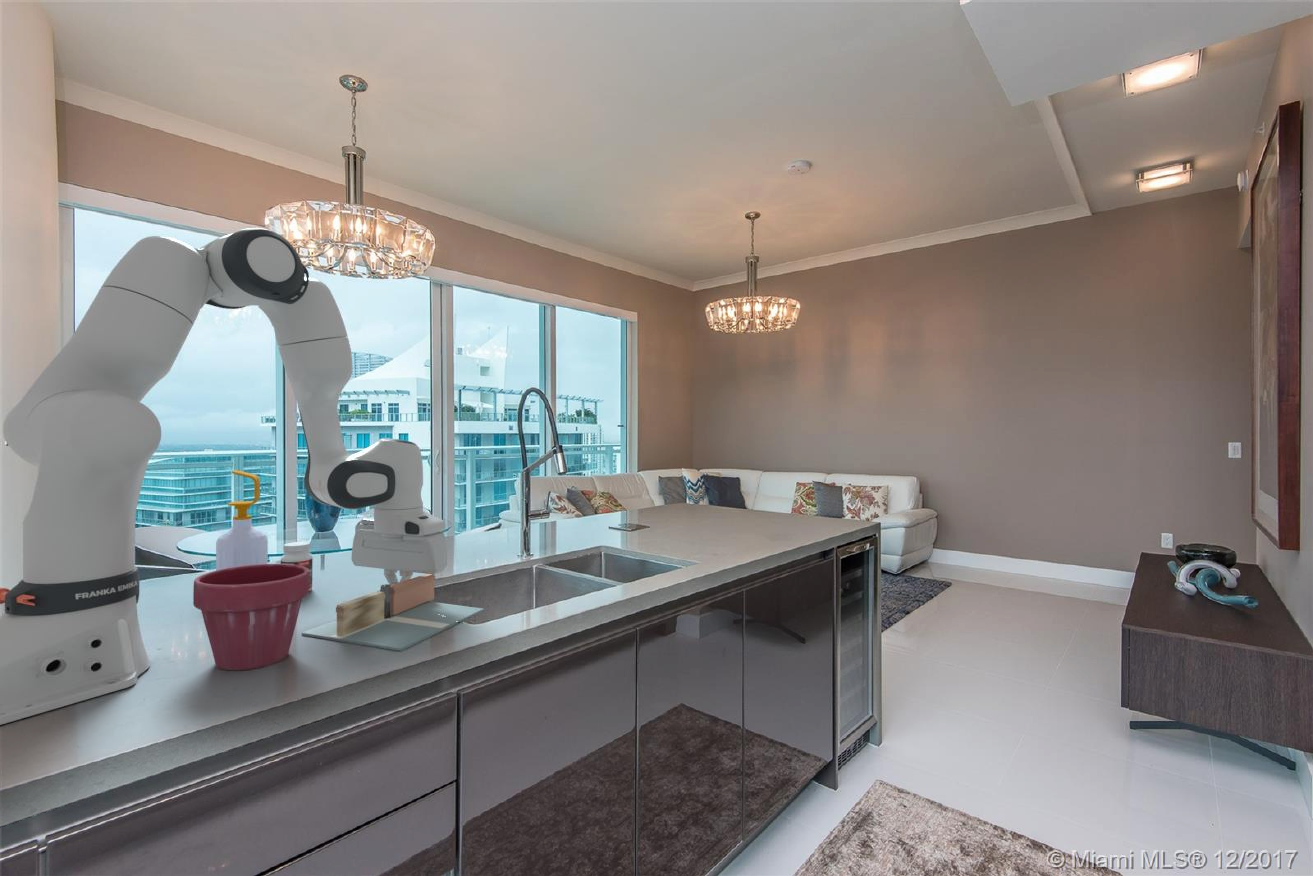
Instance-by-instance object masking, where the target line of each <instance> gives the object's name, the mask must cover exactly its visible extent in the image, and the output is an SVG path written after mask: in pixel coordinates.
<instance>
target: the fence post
mask: <svg viewBox="0 0 1313 876" xmlns="http://www.w3.org/2000/svg"><path fill="white" fill-rule="evenodd" d="M380 591H381V592H384V594H385V599H384V619H386V618H390V585H389V583H388V584H387V583H386V584H381V585H380Z"/></svg>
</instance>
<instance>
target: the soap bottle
mask: <svg viewBox="0 0 1313 876" xmlns="http://www.w3.org/2000/svg"><path fill="white" fill-rule="evenodd" d="M231 474H234V475H238V476H241V477H246V478H248V479H251V480H252V481H253V484H254V498H253V500H246V501H230V502H229V503H227V506H229V507H233V506H234V510H237V515H234V516H232V527H230V529H228V530H227V531H225V532H223V533H222V534H221V535H219V536H218V537H217V540H216V542H215V571H217V570H221V569H226V568H232V567H239V566H247V565H258V564H268V555H269V554H268V553H269V552H268V542H269V541H268V537H267V535H266V532H264V531H262V530H260V529H259V528H257V527H254V526H253V523H252V522H253V518H252V517H253V516H252V515H251V514H248V510H249V509H250V508H251V506H252V505H255V504H256V503H257V502H258V501H260V497H261V495H260V494H261V491H260V488H261V481H260V477H259V476H258V475H256V474H254V473H250V472H246V471H242V470H239V469H238V470H237V469H234V470H232V471H231Z"/></svg>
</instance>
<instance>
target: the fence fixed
mask: <svg viewBox="0 0 1313 876" xmlns="http://www.w3.org/2000/svg"><path fill="white" fill-rule="evenodd" d="M384 599H385V594H384V592H381V590H377V591H375V592H371V593H369V594H365V595H363V596H359V597H357V598H353V599H351V600H347V601H345V602H342V603H339V604H337V605H336V606H335V613H336V620H337V635H340V636H345V635H347V634H349V633H352V632H354V631H357V630H359V629H362V628H364V627H367V626H369V625H372V624H374V623H377V622H379V621H382V620H384Z"/></svg>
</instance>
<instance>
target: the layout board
mask: <svg viewBox="0 0 1313 876" xmlns="http://www.w3.org/2000/svg"><path fill="white" fill-rule="evenodd" d="M484 610H485V609H484V608H482V607H472V606H466V605H459V604H452V603H451V604H450V603H445V602H443V603H442V602H435V601H427V602H425V603H422V604H420V605H418V606H415V607H413V608H410V609H408V610H405V611H403V612H400V613H398V614H395V615H390V618H386V619H384V620H382V621H379V622H377V623H374V624H372V625H369V626H367V627H364V628H362V629H359V630H357V631H354V632H352V633H349V634H347V635H345V636H340V635H337V619H335V620H333V621H331V622H327V623H324V624H322V625H319V626H316V627H314V628H311V629H308V630H305V631H303V632H301V636H304V637H305V636H306V637H312V638H316V639H317V638H318V639H325V640H329V641H335V642H340V643H341V642H343V643H347V644H355V645H360V646H366V647H367V646H368V647H373V648H378V649H385V650H389V651H395V652H396V651H397V652H402V651H404V650H406V649H408V648H410V647H413V646H414V645H416V644H419V643H420V642H423V641H425V640H427V639H429V638H431V637H433V636H434V635H437V634H439V633H441V632H444V631H445V630H447V629H449V628H451V627H453V626H456V625H457V624H459V623H458V622H460V623H461V622H463V621H466V620H467V619H470V618H472V617H474V616H475V615H478V614H480V613H483V612H484ZM438 614H440V615H438ZM441 615H444V616H446V617H442V616H441ZM456 621H458V622H456Z"/></svg>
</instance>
